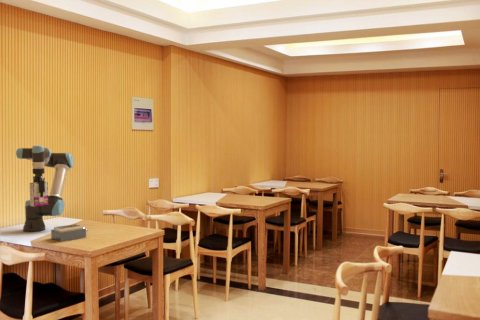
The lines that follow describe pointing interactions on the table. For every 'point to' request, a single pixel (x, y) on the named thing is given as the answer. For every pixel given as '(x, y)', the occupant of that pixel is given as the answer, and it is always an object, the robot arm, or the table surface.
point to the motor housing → (68, 232)
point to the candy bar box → (35, 195)
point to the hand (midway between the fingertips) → (39, 201)
